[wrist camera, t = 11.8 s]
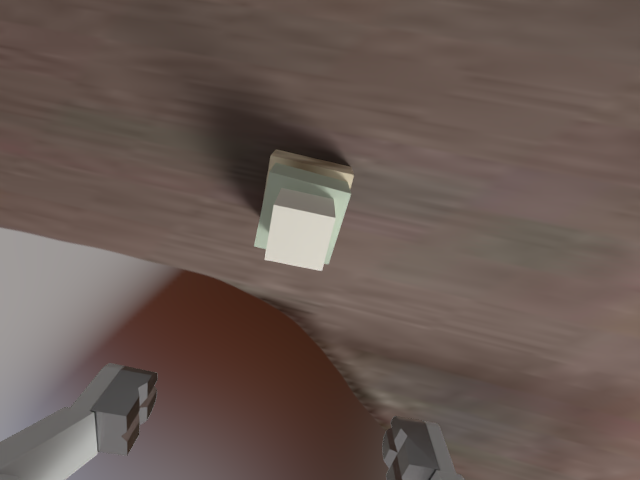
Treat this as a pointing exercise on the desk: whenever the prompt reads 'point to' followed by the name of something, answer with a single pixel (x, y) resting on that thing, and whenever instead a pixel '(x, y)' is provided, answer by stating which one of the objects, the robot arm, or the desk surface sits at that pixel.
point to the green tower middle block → (303, 183)
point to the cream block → (300, 229)
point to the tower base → (311, 166)
